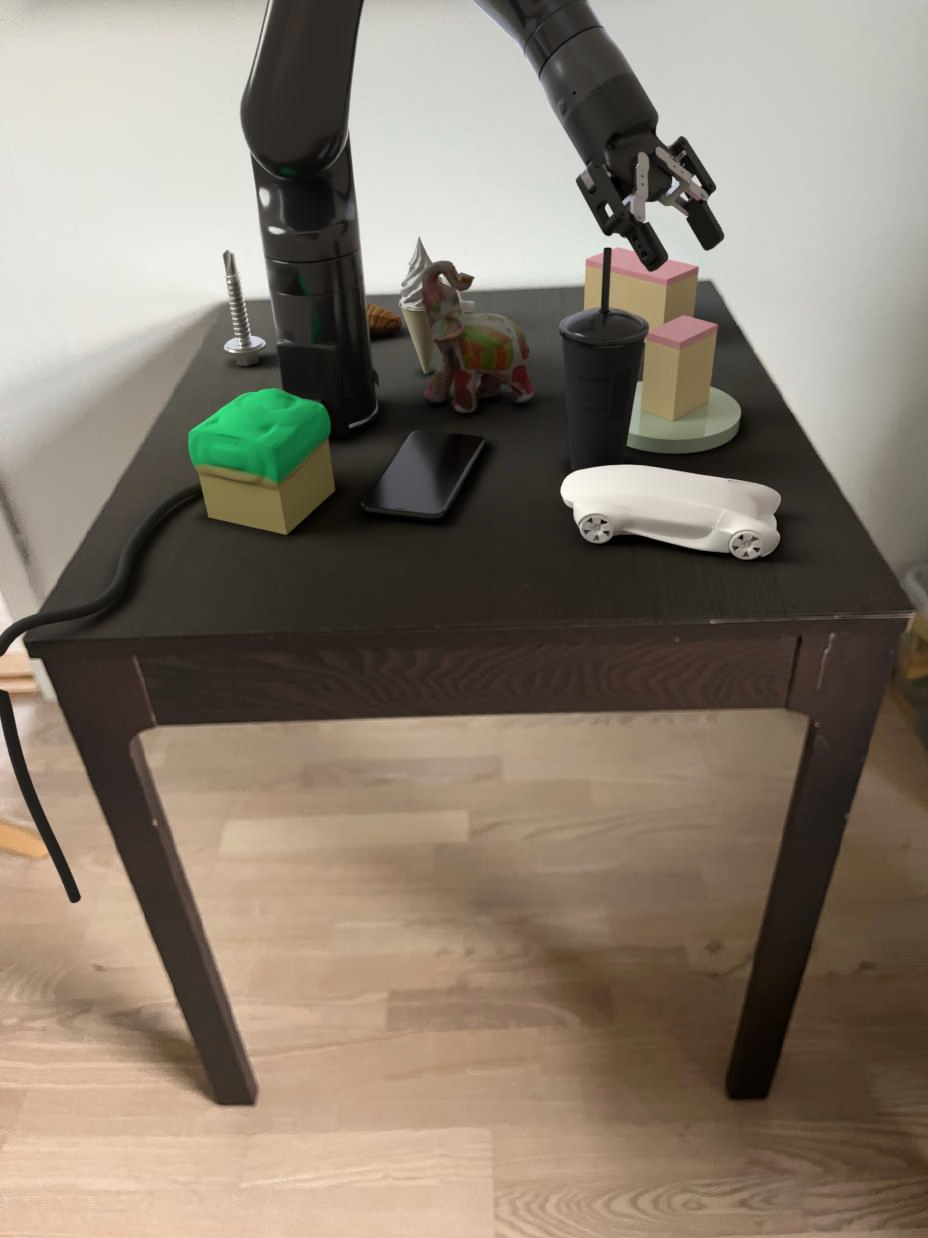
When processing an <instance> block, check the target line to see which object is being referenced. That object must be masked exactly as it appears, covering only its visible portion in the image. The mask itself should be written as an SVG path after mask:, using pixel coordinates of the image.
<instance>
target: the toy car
mask: <svg viewBox="0 0 928 1238" xmlns="http://www.w3.org/2000/svg"><path fill="white" fill-rule="evenodd" d="M560 496H561V498H562V500H563V502H564V504H565V505H566V506H567V507H569V508H570V509H573V519H574V521H575V523H576V525H577V527H578V529H579V532H580V534H581V536H582V537H583V538H584V539H585V540H586V541H587V542H589V543H592V544H604V543H607V542H608V541H610V540H611V539H612V538H613V537H615V536H624V535H625V536H627V535H629V536H631V535H632V536H633V535H634V536H642V537H645V538H649V539H653V540H656V541H659V542H660V541H661V542H663V543H668V544H671V545H676V546H680V547H683V548H688V549H693V550H697V551H705V552H706V551H707V552H715V553H725V554H726V553H727V554H728V553H729V554H730V553H731V555H732V556H734V557H735V558H737V559H740V560H743V561H744V560H745V561H751V560H755V559H757V558H758V557H760V558H764V557H765V556H767V555H769V554H771V553H772V552H774V550H775V549H776V548H777V546H778V545H779V543H780V540H781V535H780V533H779V531H778V530H777V526H778V525H777V524H778V522H777V519H776V517H775V515H774V514H775V513H776V511H777V510H778V508H779V506H780V504H781V501H782V496H781V495H780V493H779V492H778V491H776V490H775V489H773V488H772V487H769V486H767V485H764V484H760V483H757V482H752V481H746V480H739V479H733V478H726V477H725V478H724V477H719V476H712V475H705V474H698V473H693V472H687V471H681V470H675V469H669V468H663V467H656V466H649V465H641V464H623V465H609V466H600V467H593V468H588V469H583V470H578V471H575V472H571V473H569V474H568V475H567V476H566V477H565V478H564V480H563V482H562V484H561V486H560ZM590 519H591V521H590ZM601 521H604V522H606V523H601ZM741 536H743V537H742V538H740V537H741ZM754 548H755V549H754Z"/></svg>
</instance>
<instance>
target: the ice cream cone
mask: <svg viewBox="0 0 928 1238" xmlns="http://www.w3.org/2000/svg"><path fill="white" fill-rule="evenodd" d="M432 263H433V261H432V260H431V258H430V256H429V255H428V253H427V251H426V249H425V245H424V244H423V242H422V239H421V236H418V237H417V242H416V245H415V248H414V251H413V254H412V257H411V258H410V260H409V262H408V263H407V264H408V265H409V268H408V270H407V274H406V275H405V278H404V279H402V280H401V283H400V286H401V287H402V288H401V290H400V292H399V294H400V296H401V298H400V300H399V302H398V306H399V307H400V308H401V312H402V314H403V317H404V320H405V323H406V326H407V328H408V331H409V334H410V337H411V340H412V342H413V345H414V349H415V351H416V354H417V356H418V359H419V363H420V366H421V368H422V371H423V373H424V374H425V375H428V374H429V372H430V368H431V364H432V360H433V355H434V350H435V346H436V343H435V342H434V341H432V336H431V334H430V330H431V327H430V323H429V319H428V315H427V312H426V309H425V307H424V305H423V303H422V300H421V298H423V295H422V277H423V274H424V273H425V271H426V270H427V269H428V267H429V266H430V265H431V264H432ZM438 279H439V280H440V282H441V283H443V281H442V278H441V277H440V276H439V277H438Z"/></svg>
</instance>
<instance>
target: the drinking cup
mask: <svg viewBox="0 0 928 1238" xmlns="http://www.w3.org/2000/svg"><path fill="white" fill-rule="evenodd" d="M612 249H613V247H608V246H607V247H604V248H603V249H602V250H603V252H602V253H603V271H602V292H601V307H597V308H591V309H587V310H584V309H583V310H581V311H579V312H576V313H572V314H570V315H568V316H566V317H564V318H563V319H562V320H561V321H560V323H558V324H559V325H558V333H559V335H560V336H561V339H562V340H561V341H562V353H563V368H564V369H563V370H564V383H565V385H564V387H565V399H566V415H567V430H568V445H569V446H568V447H569V459H570V469H571V473H573V472H575V471H578V470H583V469H588V468H593V467H600V466H609V465H625V458H626V453H627V447H628V446H627V440H628V434H629V428H630V423H631V417H632V411H633V405H634V399H635V393H636V387H637V382H639V375H640V374H639V373H640V369H641V363H642V356H643V353H644V352H643V351H644V346H645V345H644V344H645V343H644V340H645V338H646V336H647V335H648V333H649V324H648V322H647V321H646V320H645V319H644V318H642V317H640V316H638V315H635V314H632V313H630V312H627V311H625V310H622V309H618V308H612V307H609V295H610V276H611V256H612Z"/></svg>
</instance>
